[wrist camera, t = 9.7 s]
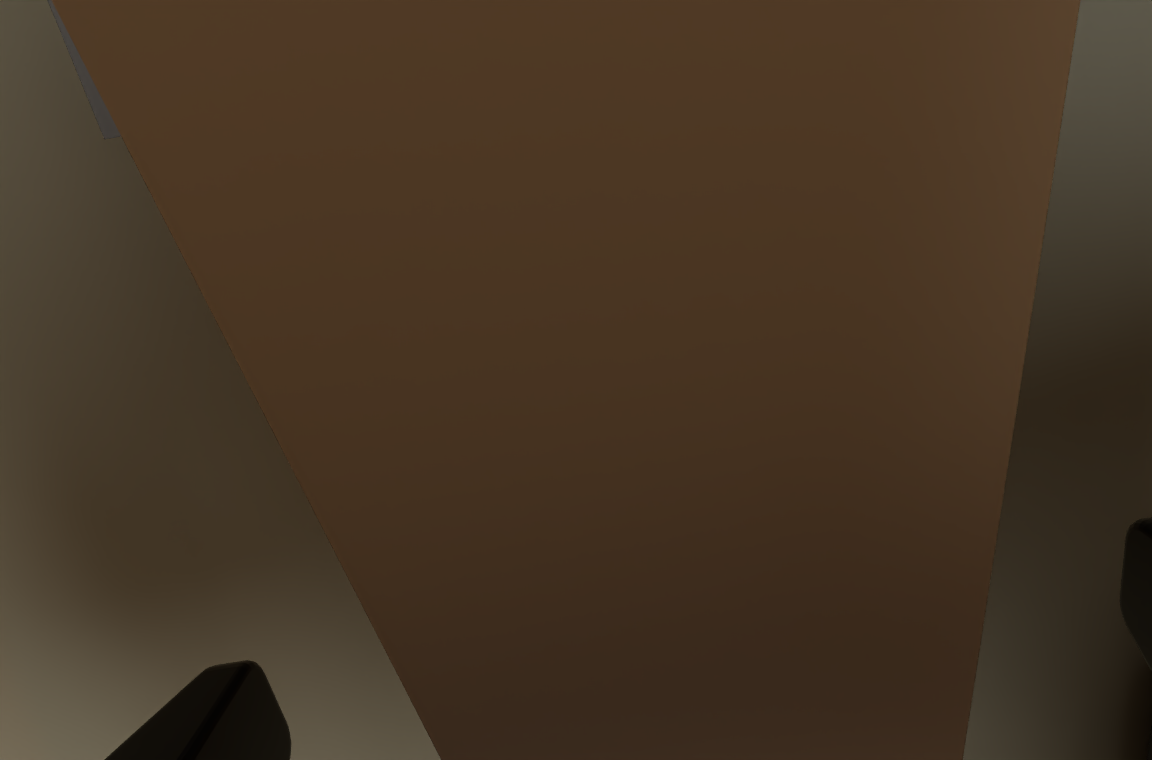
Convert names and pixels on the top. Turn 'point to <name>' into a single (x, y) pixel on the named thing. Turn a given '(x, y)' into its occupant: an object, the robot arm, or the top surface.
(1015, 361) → the brown rectangular block
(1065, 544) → the top surface
